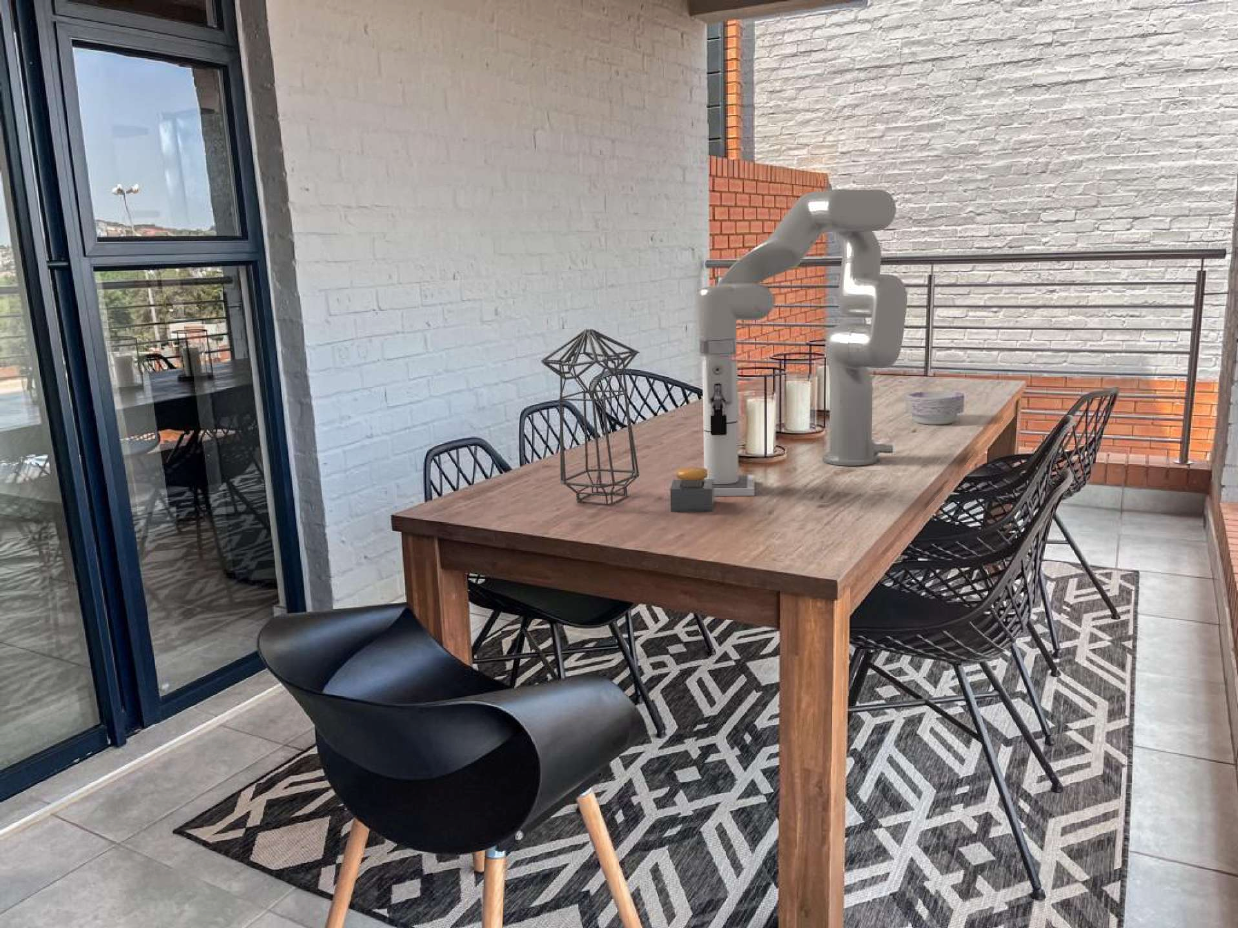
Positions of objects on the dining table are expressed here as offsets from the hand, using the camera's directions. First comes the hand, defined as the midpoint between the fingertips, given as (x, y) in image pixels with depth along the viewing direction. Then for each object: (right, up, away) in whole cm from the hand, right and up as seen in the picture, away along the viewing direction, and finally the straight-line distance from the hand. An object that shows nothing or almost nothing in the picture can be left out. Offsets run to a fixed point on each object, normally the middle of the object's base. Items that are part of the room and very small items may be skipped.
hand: (719, 430), depth 200 cm
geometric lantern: (-25, -14, -1) cm, 29 cm away
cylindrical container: (+1, -11, +3) cm, 11 cm away
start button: (-6, -13, -11) cm, 18 cm away
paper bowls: (+66, +4, +66) cm, 94 cm away
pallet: (+1, -12, +3) cm, 12 cm away
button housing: (-6, -15, -10) cm, 19 cm away
